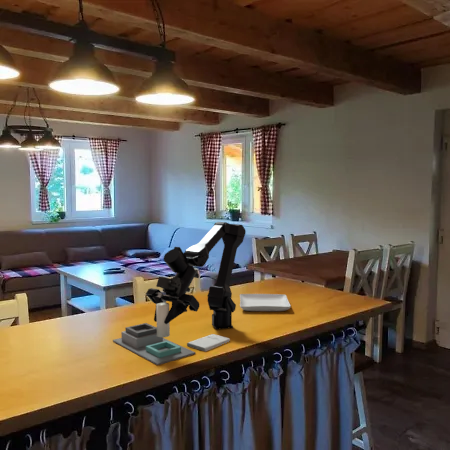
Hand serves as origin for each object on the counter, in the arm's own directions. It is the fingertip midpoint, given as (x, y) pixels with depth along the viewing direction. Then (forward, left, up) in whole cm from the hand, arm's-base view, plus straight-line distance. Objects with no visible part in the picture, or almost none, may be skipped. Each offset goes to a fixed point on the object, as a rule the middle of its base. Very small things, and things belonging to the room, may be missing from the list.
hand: (160, 322), depth 146 cm
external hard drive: (-17, -4, -11) cm, 21 cm away
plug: (-1, -1, -5) cm, 5 cm away
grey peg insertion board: (+1, -7, -10) cm, 12 cm away
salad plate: (-53, -43, -11) cm, 69 cm away
